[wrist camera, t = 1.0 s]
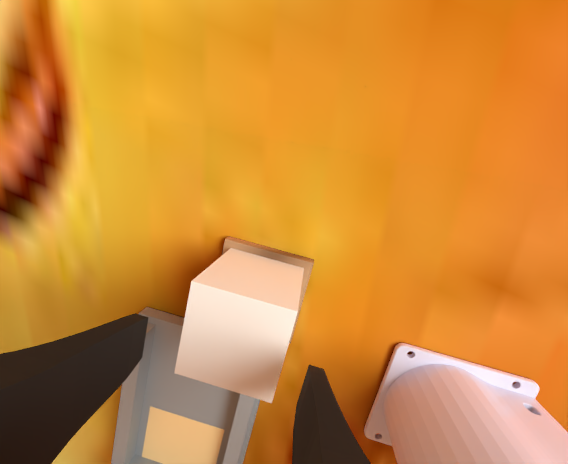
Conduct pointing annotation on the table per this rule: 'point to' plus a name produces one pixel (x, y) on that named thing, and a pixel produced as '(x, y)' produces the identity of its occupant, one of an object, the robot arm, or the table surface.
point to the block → (240, 323)
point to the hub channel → (177, 408)
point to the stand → (274, 255)
